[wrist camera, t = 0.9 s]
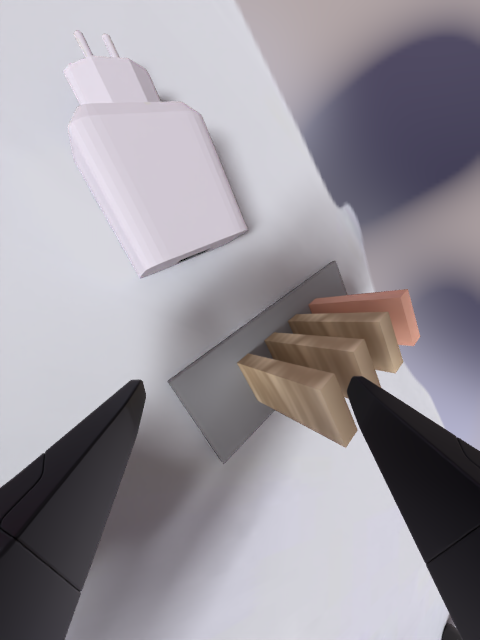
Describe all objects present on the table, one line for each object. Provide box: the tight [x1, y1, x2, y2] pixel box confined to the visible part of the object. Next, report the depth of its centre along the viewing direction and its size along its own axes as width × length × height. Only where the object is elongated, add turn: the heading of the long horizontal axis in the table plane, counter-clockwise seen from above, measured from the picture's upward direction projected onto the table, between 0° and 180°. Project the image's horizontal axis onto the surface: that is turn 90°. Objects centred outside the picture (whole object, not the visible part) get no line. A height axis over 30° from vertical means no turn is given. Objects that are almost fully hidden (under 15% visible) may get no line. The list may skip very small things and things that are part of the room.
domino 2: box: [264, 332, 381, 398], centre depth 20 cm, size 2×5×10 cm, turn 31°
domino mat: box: [168, 261, 347, 464], centre depth 26 cm, size 26×10×1 cm, turn 121°
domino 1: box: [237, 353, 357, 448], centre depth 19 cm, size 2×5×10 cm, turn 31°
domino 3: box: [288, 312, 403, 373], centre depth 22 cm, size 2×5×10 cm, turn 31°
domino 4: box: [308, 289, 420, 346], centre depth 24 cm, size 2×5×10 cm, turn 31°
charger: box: [63, 30, 248, 278], centre depth 16 cm, size 5×9×15 cm
